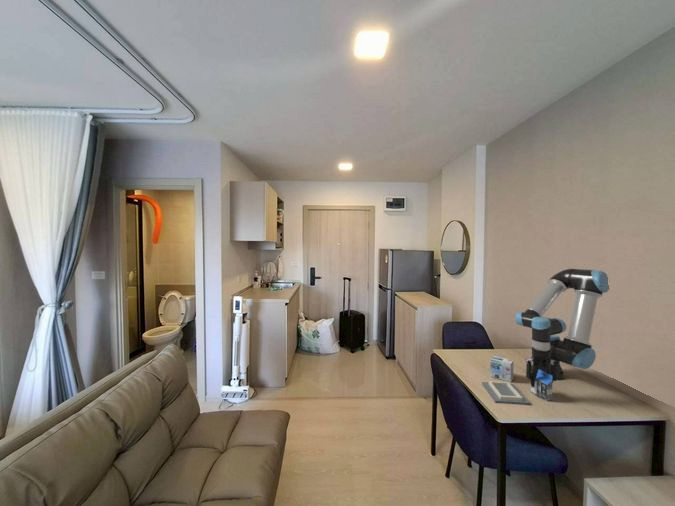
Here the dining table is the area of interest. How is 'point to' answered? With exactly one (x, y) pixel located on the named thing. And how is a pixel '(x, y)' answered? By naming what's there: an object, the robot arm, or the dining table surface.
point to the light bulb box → (501, 368)
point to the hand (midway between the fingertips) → (541, 393)
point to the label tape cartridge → (544, 385)
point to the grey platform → (505, 393)
